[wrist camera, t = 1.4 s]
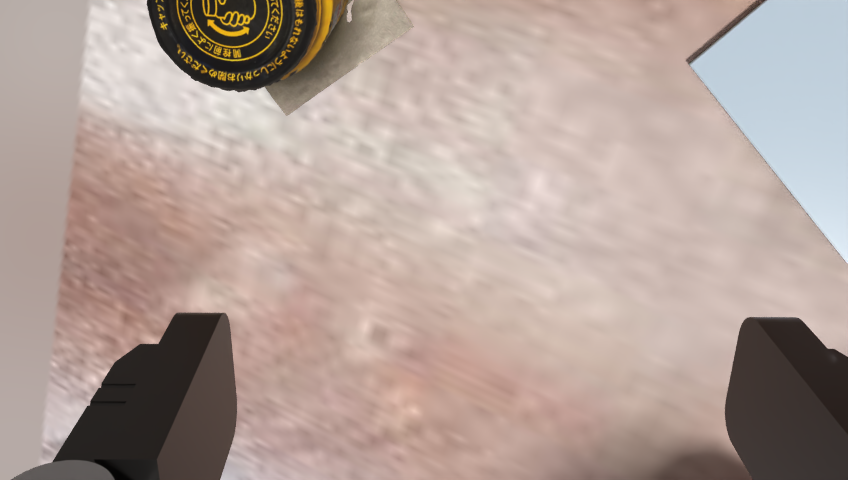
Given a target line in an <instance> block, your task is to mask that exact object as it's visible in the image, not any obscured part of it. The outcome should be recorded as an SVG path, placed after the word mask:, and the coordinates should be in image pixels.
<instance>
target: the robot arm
mask: <svg viewBox="0 0 848 480" xmlns="http://www.w3.org/2000/svg"><path fill="white" fill-rule="evenodd" d="M90 402H91V403H90V406H87V408H86V409H85V411H84V412H83V414H82V416H81V417H80V419H79V420H78V422H77V423H76V425H75V427H74V428H73V430H72V431H71V433H70V435H69V436H68V438H67V439H66V441H65V443H64V444H63V446H62V447H61V449H60V451H59V452H58V454H57V455H56V457H55V459H54V460H53V462H52V463H48V464H44V465H41V466H38V467H35V468H33V469H30V470H28V471H25V472H23V473H22V474H20V475H18V476H16V477H14V478H13V479H11V480H220V478H221V475H222V472H223V469H224V466H225V463H226V460H227V457H228V454H229V450H230V447H231V444H232V441H233V438H234V433H235V427H236V417H237V397H236V386H235V375H234V364H233V353H232V343H231V332H230V324H229V319H228V316H227V315H226V313H176V314H175V315H174V317H173V319H172V320H171V322H170V324H169V326H168V328H167V329H166V331H165V333H164V335H163V337H162V338H161V340H160V342H159V344H140V345H138V346H137V347H135V348H134V349H133V350H131V351H130V352H129V353H127V354H126V355H124V356H123V357H122V358H120V359H119V360H117V361H116V362H115V363H114V364H113V366H112V368H111V369H110V371H109V372H108V374H107V376H106V377H105V379H104V380H103V382H102V386H101V388H98V390H97V392H96V393H95V395H94V396H93V398H92V400H91V401H90ZM725 420H726V427H727V431H728V435H729V438H730V440H731V442H732V444H733V446H734V448H735V450H736V451H737V453H738V455H739V456H740V458H741V460H742V462H743V463H744V465H745V467H746V469H747V470H748V472H749V474H750V475H751V477H752V479H753V480H848V357H847V356H845V355H843V354H842V353H840V352H838V351H837V350H835V349H827V348H826V347H825V345H824V344H823V343H822V342H821V341H820V340H819V339H818V338H817V337H816V335H815V334H814V333H813V332H812V331H811V330H810V329H809V328H808V327H807V326H806V324H805V323H804V322H803V321H802V320H801V319H799V318H794V317H749V318H747V319H745V320H744V322H743V323H742V325H741V328H740V331H739V336H738V341H737V346H736V351H735V356H734V361H733V366H732V372H731V377H730V382H729V387H728V392H727V397H726V404H725Z"/></svg>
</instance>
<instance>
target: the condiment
mask: <svg viewBox="0 0 848 480" xmlns="http://www.w3.org/2000/svg"><path fill="white" fill-rule="evenodd" d="M351 1H352V0H147V6H148V11H149V16H150V19H151V22H152V26H153V29H154V31H155V34H156V38H157V40H158V42H159V44H160V46H161V48H162V49H163V50H164V51H165V53H166V54H167V55H168V56H169V57H170V58H171V59H172V60H173V62H174V63H175V64H176V65H177V66H178V67H179V68H180V69H181V70H183V71H184V72H185V73H187V74H188V75H189V76H191V78H192V79H194V80H195V81H199V82H201V83H203V84H206V85H208V86H210V87H216V88H221V89H222V90H226V91H231V90H235V91H237V92H242V91H244V92H245V91H247V90H257V89H259V88H262V87H264V86H265V88H266V89H267V91H268V92H269V93H270V95H271V96H272V98H273V99H274V100H275V102H276V103H277V104H278V105H279V107H280V108H281V109H282V111H283V112H284V113H285V115H286V116H287V115H289V114H290V113H292V112H293V111H295V110H296V109H297V108H299V107H300V106H301V105H303V104H304V103H305V102H307V101H308V100H310V99H311V98H313V97H314V96H315V95H317V94H318V93H320V92H321V91H323V90H324V89H325V88H327V87H328V86H330V85H331V84H332V83H334V82H335V81H337V80H338V79H339V78H341V77H342V76H344V75H345V74H347V73H348V72H349V71H351V70H352V69H354V68H355V67H357V66H358V64H359V63H362V62H364V61H365V60H367V59H368V58H370V57H371V56H372V55H374V54H375V53H377V52H378V51H380V50H381V49H382V48H384V47H385V46H387V45H388V44H389V43H391V42H392V41H394V40H395V39H397V38H398V37H400V36H401V35H403V34H404V33H406V32H407V31H408V30H410V29H411V28H413V27H414V26H413V24H412V23H411V21H410V20H409V18H408V17H407V16H406V14H405V13H404V11H403V10H402V8H401V7H400V5H399V4H398V2H397V1H396V0H354V3H353V6H352V10H351V13H352V21H351V22H350V23H349V22H347V17H346V16H347V13H348V11H347V5H348V4H349V3H350V2H351Z"/></svg>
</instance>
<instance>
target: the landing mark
mask: <svg viewBox="0 0 848 480" xmlns="http://www.w3.org/2000/svg"><path fill="white" fill-rule="evenodd" d="M689 65H690V67H691V68H692V69H693V70H694V72H695V73H696V74H697V76H698V77H699V78H700V79H701V81H702V82H703V83H704V84H705V86H706V87H707V88H708V89H709V91H710V92H711V93H712V94H713V96H714V97H715V98H716V99H717V101H718V102H719V103H720V104H721V106H722V107H723V108H724V110H725V111H726V112H727V113H728V115H729V116H730V117H731V118H732V120H733V121H734V122H735V123H736V125H737V126H738V127H739V128H740V130H741V131H742V132H743V133H744V135H745V136H746V137H747V138H748V140H749V141H750V142H751V144H752V145H753V146H754V147H755V149H756V150H757V151H758V152H759V154H760V155H761V156H762V157H763V159H764V160H765V161H766V162H767V164H768V165H769V166H770V167H771V169H772V170H773V171H774V173H775V174H776V175H777V176H778V178H779V179H780V180H781V181H782V183H783V184H784V185H785V186H786V188H787V189H788V190H789V191H790V193H791V194H792V195H793V196H794V198H795V199H796V200H797V201H798V203H799V204H800V205H801V207H802V208H803V209H804V210H805V212H806V213H807V214H808V215H809V217H810V218H811V219H812V220H813V222H814V223H815V224H816V225H817V227H818V228H819V229H820V230H821V232H822V233H823V234H824V235H825V237H826V238H827V239H828V241H829V242H830V243H831V244H832V246H833V247H834V248H835V249H836V251H837V252H838V253H839V254H840V256H841V257H842V258H843V259H844V261H845V262H846V263H847V264H848V0H765V1H764V2H762V3H761V4H760V5H759V6H758V7H756V8H755V9H754V10H753V11H752V12H750V13H749V14H748V15H747V16H746V17H744V18H743V19H742V20H741V21H740V22H738V23H737V24H736V25H735V26H734V27H732V28H731V29H730V30H729V31H728V32H727V33H725V34H724V35H723V36H722V37H721V38H719V39H718V40H717V41H716V42H715V43H713V44H712V45H711V46H710V47H709V48H707V49H706V50H705V51H704V52H703V53H701V54H700V55H699V56H698V57H697V58H695V59H694V60H693V61H692V62H691V63H689Z"/></svg>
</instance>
